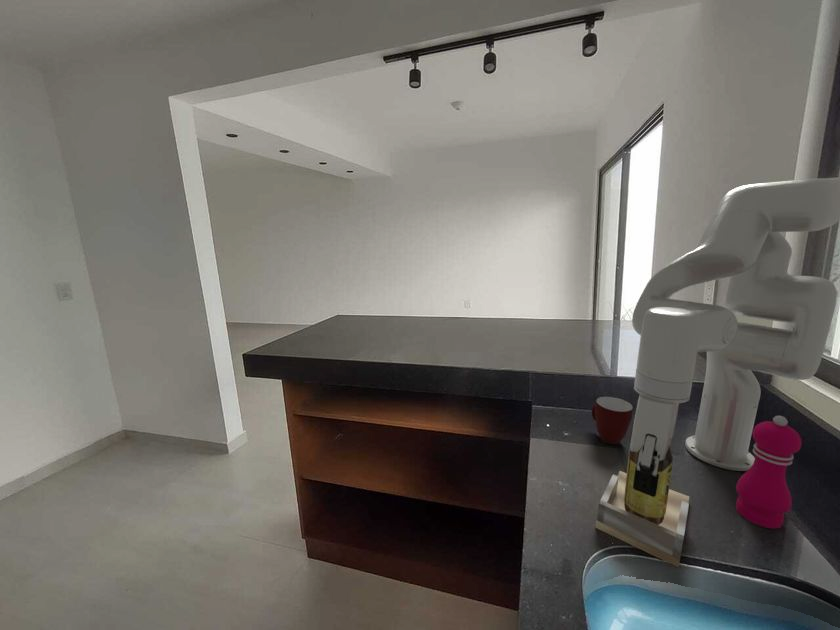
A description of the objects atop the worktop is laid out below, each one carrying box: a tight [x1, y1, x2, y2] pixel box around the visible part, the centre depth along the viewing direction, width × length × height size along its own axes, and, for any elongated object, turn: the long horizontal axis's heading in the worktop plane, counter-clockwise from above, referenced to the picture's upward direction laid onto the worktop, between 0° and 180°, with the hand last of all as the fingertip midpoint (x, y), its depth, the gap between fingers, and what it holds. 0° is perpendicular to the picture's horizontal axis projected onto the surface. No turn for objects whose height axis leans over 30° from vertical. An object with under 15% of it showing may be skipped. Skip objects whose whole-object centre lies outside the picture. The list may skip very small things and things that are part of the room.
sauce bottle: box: [624, 438, 674, 525], centre depth 60 cm, size 7×6×20 cm
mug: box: [591, 396, 634, 446], centre depth 89 cm, size 11×8×10 cm
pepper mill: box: [735, 415, 802, 530], centre depth 63 cm, size 7×7×20 cm
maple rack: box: [595, 470, 690, 568], centre depth 65 cm, size 18×12×5 cm, turn 139°
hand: (647, 480), depth 61 cm, fingers closed on sauce bottle, 6 cm apart
